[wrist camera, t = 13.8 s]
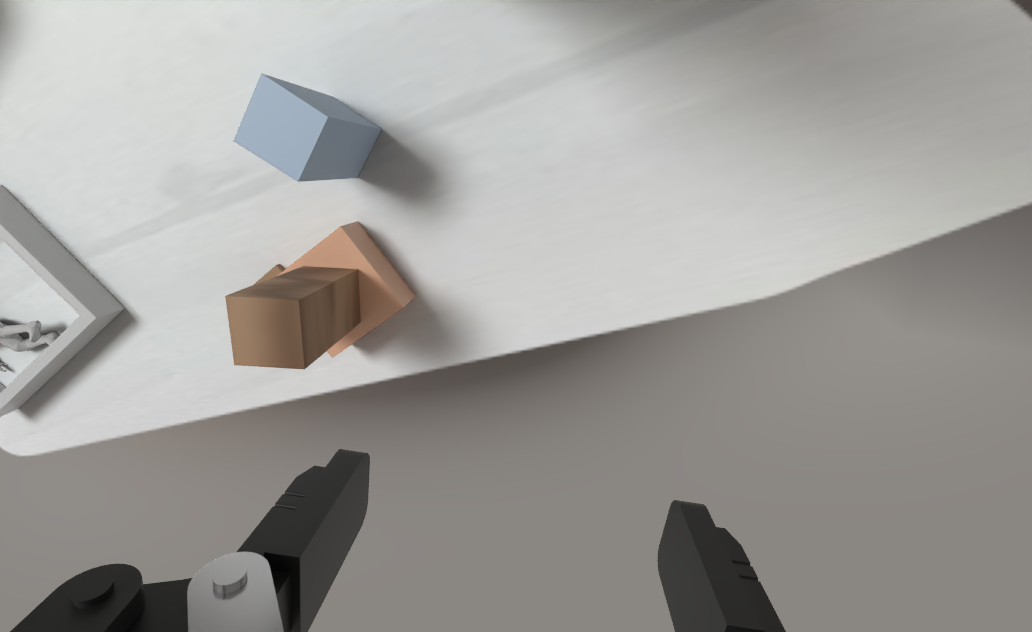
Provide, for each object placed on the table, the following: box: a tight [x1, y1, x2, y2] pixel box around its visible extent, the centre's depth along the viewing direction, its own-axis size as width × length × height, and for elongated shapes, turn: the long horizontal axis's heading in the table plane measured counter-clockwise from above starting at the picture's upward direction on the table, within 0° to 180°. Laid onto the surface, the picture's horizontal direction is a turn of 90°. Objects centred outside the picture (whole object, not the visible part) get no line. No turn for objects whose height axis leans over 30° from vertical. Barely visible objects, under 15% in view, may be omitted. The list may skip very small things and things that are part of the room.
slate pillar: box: [234, 74, 382, 181], centre depth 34 cm, size 4×4×10 cm
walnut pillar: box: [226, 266, 361, 369], centre depth 34 cm, size 4×4×10 cm
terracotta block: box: [277, 221, 415, 358], centre depth 41 cm, size 8×8×4 cm
